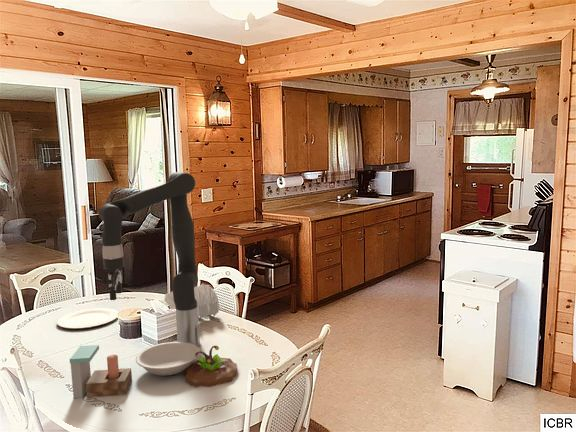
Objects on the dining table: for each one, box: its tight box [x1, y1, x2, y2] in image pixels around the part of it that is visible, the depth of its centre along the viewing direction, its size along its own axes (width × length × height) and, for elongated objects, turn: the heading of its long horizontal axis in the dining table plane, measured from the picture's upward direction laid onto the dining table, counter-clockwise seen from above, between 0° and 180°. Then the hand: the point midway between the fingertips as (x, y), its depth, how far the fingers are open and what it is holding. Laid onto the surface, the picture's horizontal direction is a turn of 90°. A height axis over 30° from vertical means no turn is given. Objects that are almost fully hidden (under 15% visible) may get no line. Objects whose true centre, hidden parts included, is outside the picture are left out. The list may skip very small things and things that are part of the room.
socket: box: [86, 367, 133, 398], centre depth 168 cm, size 13×10×5 cm
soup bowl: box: [135, 341, 201, 376], centre depth 182 cm, size 24×24×7 cm
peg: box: [106, 354, 120, 379], centre depth 168 cm, size 4×4×12 cm
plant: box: [184, 345, 238, 388], centre depth 178 cm, size 20×20×11 cm
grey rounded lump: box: [164, 282, 221, 320], centre depth 235 cm, size 18×18×25 cm
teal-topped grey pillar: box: [69, 344, 100, 399], centre depth 167 cm, size 6×11×14 cm, turn 6°
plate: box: [56, 307, 119, 330], centre depth 239 cm, size 29×29×2 cm
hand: (116, 296), depth 184 cm, fingers open, 8 cm apart
